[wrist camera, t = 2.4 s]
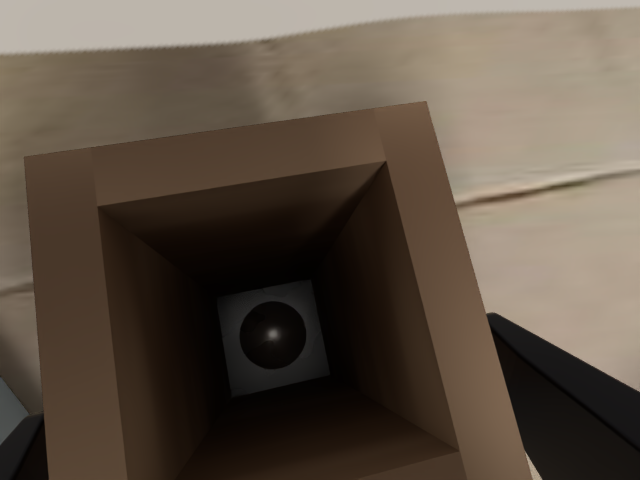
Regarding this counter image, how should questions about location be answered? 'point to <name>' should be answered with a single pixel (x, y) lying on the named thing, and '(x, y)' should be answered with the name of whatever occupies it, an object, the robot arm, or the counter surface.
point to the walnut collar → (256, 273)
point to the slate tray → (9, 411)
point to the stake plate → (255, 373)
